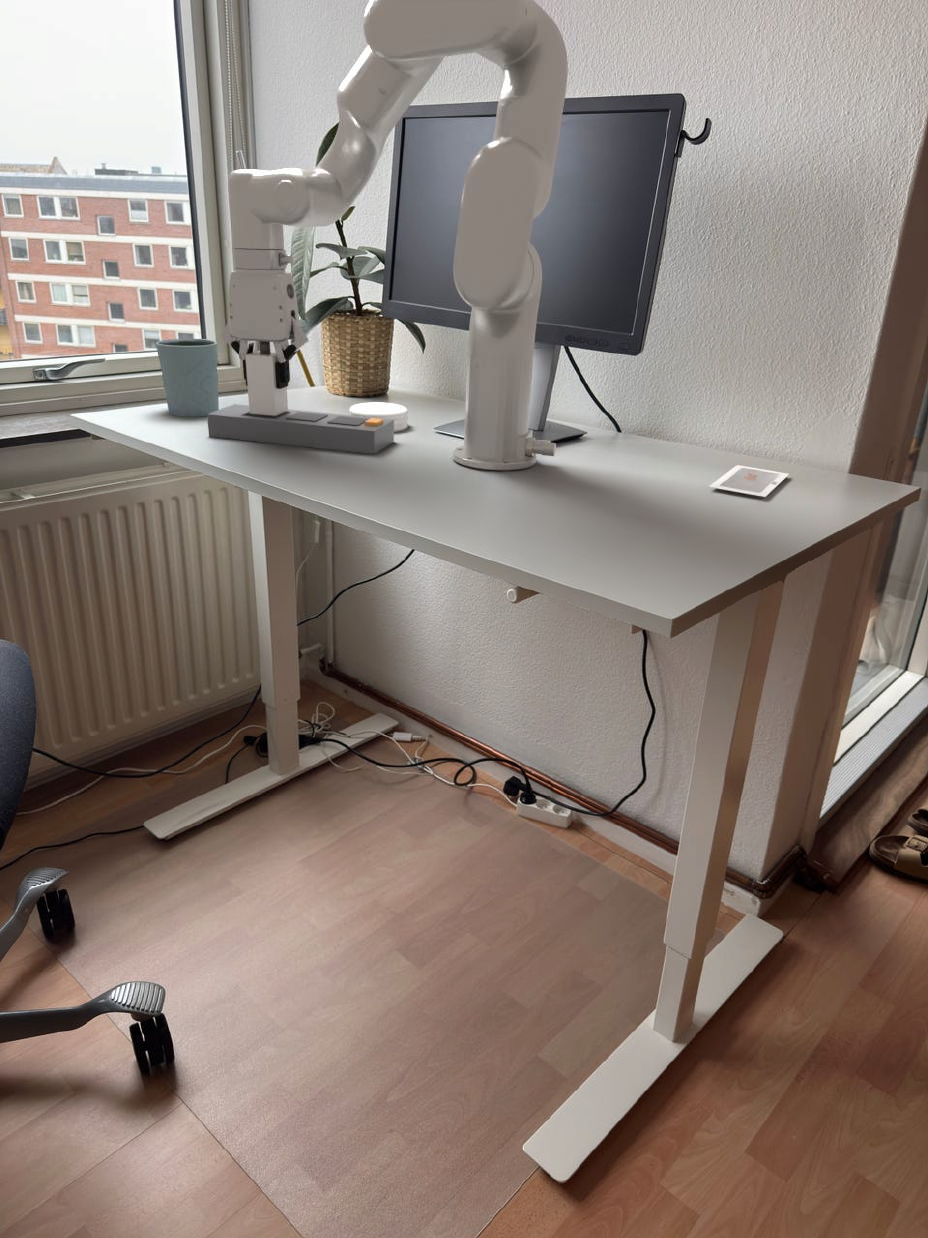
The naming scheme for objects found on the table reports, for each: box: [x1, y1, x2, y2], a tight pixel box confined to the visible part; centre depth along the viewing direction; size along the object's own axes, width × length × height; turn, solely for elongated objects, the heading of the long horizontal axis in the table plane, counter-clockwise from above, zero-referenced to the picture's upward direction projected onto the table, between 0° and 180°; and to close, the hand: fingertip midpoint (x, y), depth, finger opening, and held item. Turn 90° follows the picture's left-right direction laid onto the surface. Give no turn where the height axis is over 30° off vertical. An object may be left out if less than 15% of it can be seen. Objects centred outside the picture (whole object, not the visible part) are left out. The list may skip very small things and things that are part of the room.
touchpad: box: [708, 464, 790, 498], centre depth 128 cm, size 8×15×2 cm, turn 149°
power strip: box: [206, 403, 395, 455], centre depth 141 cm, size 28×9×4 cm, turn 75°
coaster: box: [349, 401, 409, 433], centre depth 152 cm, size 10×10×4 cm
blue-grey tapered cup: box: [155, 338, 220, 418], centre depth 155 cm, size 10×10×12 cm
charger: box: [245, 341, 289, 416], centre depth 139 cm, size 4×4×11 cm
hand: (267, 384), depth 140 cm, fingers closed on charger, 4 cm apart
